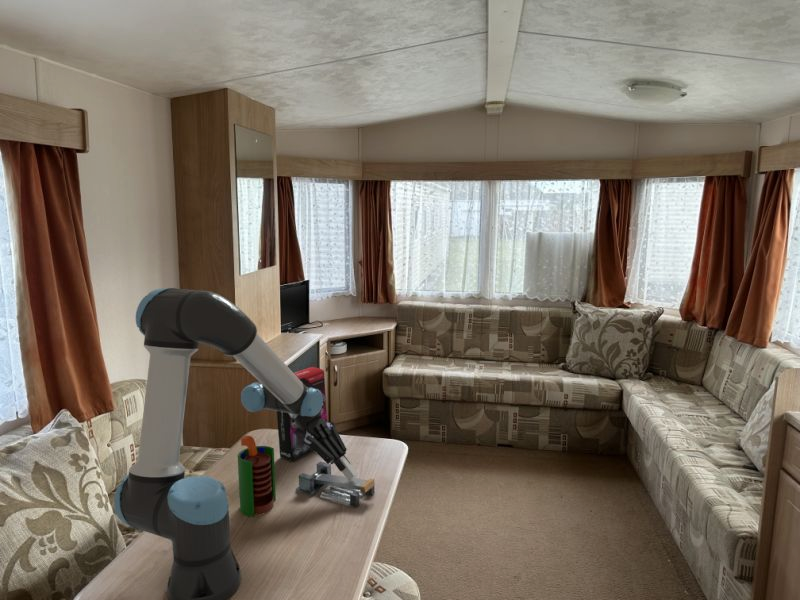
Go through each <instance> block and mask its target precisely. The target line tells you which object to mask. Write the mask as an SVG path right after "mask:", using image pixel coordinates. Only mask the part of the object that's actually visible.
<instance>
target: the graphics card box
mask: <svg viewBox="0 0 800 600" xmlns="http://www.w3.org/2000/svg"><path fill="white" fill-rule="evenodd" d="M293 373H294V374H295V375H296V376H297V377H298V379H299V380H300V381H301V382H302V383H303V384H304V385H305V386H306V387H308V388H311V387H312V388H314V389H318V390H319V391H320V392H321V393H322V397H323V403H322V407H321V409H320V412H321V417H322V418H323V419H324V420H325V421H326V422H327V423H328V415H327V414H328V413H327V397H326V396H327V395H326V379H325V370H324V369H322V368H320V367H315V366H310V367H307V368H304V369H300V370H298V371H294V372H293ZM276 419H277V420H276V421H277V432H278V444H279V445H278V446H279V457H280V458H282V459H284V460H287V461H290V462H294V461H296V460H299V459H301V458H303V457H305V456H307V455H309V454H311V453H313V452H315V451H314V450H313V449H312V448H311V447H309V446H308V445H306V444H304V443H303V440H304V439H305V437H306V435H305V433H304V430H301V429H300V428H299V427H298V426H297V424H296V423H295V420H294V419H295V418H294V419H293V418H291V416H290V415H289V413H286V412H280V411H276Z"/></svg>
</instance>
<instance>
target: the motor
mask: <svg viewBox="0 0 800 600" xmlns="http://www.w3.org/2000/svg"><path fill="white" fill-rule="evenodd" d="M240 445H241V446H243V447H244V446H245V447H247V448H244V449H242V450H241V451H239V452H238V454H237V471H238V472H237V473H238V474H237V475H238V489H239V490H238V493H239V510H240V511H239V512H240V513H241V514H242V515H243V516H246V517H248V518H254V517H255V516H256V515H259V516H260V515H262V514H263V513H264V514H267V513H268V512H270V511H272V509H274V506H275V505H274V502H276V501H277V499H276V473H275V472H276V471H275V470H276V469H275V468H276V467H275V449H274V447H271V446H268V445H256V442H255V439H254V437H253V436H251V435H244V436H243V437H241V438H240ZM264 514H263V515H264Z"/></svg>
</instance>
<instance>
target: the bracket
mask: <svg viewBox="0 0 800 600" xmlns="http://www.w3.org/2000/svg"><path fill="white" fill-rule="evenodd" d="M315 465H316V472H317V471H319V470H321V471H322V472H323V473H324V474H329V475H332V464H330V463H329V464H327V463H326V462H325V461H324V462H323V461H319V462H317V463H316V464H315ZM311 475H312V474H308V473H303V472H302V473H300V474H298V487H297V488H295V492H296V493H299V494H303V495H305V494H306V495H305V496H309V497H314V496H315V495H316V494H318V493H319V492H321V491H322V490H323V489H325V488H326V487H328V485H323V484H317V483H314V476H311ZM366 494H367V495H370V496H373V494H375V485H374V486H373V487H372V488H370V489H369V490H368V491H367V492H366V493H364V492H360V490H355V489H349V488H342V487H336V486H329V488H326V489H325V491H322V492H321V494H320V497H319V498H321V499H323V500H327V501H329V502H333V503H336V504H339V505H343V506H347V507H352V508H356V509H357V508H358V507H359V506H360V503H361V502H360V499H361V498H362V497H363V496H364V495H366Z"/></svg>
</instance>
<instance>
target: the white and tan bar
mask: <svg viewBox="0 0 800 600" xmlns="http://www.w3.org/2000/svg"><path fill="white" fill-rule="evenodd" d="M310 475H311V476H314V483H317V484H323V485H327V486H329V487H330V486H336V487H342V488H349V489H355V490H360V492H364V493H365V494H366V492H367V491H368V490H369V489H370V488H372V487H373V486H374V487H375V485H376V484H375V483H376V481H375V479H374V478H368V479H362V478H356V477H354V478H352V479H351V480H350V481H348V479H347V478H346V476H344V475H337V474H335V475H334V474H331V475H329V474H324V473H323V472H322V471H321V470H319V471H317V470H316V472H314V473H313V474H310Z"/></svg>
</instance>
